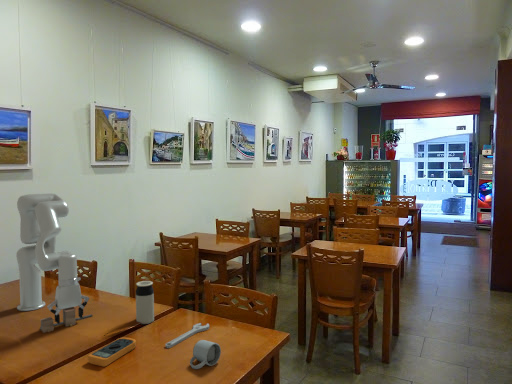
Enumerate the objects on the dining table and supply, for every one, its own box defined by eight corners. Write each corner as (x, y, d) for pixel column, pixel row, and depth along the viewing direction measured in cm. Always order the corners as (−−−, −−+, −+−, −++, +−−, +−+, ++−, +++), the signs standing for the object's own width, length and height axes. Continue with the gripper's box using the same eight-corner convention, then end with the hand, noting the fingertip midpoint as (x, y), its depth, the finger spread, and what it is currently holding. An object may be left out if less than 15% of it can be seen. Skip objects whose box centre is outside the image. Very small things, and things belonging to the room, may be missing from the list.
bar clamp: (40, 329, 167) (39, 318, 167) (91, 316, 182) (91, 306, 182) (43, 333, 163) (43, 322, 162) (96, 320, 178) (96, 309, 177)
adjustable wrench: (169, 350, 151) (168, 345, 151) (158, 345, 155) (157, 341, 154) (211, 328, 171) (211, 324, 171) (201, 325, 175) (201, 321, 175)
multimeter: (138, 347, 153) (138, 339, 153) (104, 368, 136) (104, 359, 136) (122, 343, 156) (121, 335, 156) (86, 364, 140) (86, 355, 140)
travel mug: (157, 319, 181) (157, 281, 180) (146, 325, 173) (145, 286, 172) (144, 316, 184) (143, 279, 183) (132, 322, 177) (131, 284, 176)
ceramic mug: (205, 354, 146) (205, 334, 146) (221, 360, 141) (221, 340, 141) (184, 366, 138) (184, 345, 137) (200, 373, 133) (200, 351, 132)
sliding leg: (63, 324, 172) (62, 308, 172) (72, 321, 175) (72, 306, 175) (66, 327, 169) (65, 311, 168) (76, 324, 171) (75, 308, 171)
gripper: (85, 276, 180) (86, 312, 180) (44, 284, 168) (45, 322, 169) (91, 279, 174) (92, 317, 175) (49, 288, 162) (50, 327, 163)
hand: (69, 319), depth 172 cm, fingers open, 9 cm apart
